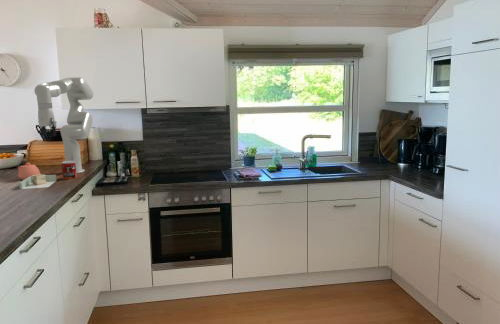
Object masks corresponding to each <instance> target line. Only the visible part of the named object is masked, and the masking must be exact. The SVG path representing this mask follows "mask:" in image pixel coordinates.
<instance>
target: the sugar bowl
mask: <svg viewBox="0 0 500 324" xmlns="http://www.w3.org/2000/svg"><path fill="white" fill-rule="evenodd" d="M17 171H18V173H17V176H18V179H19V180H22V181H23V180H25V179H26V178H28V177H30V176H32V175H38V174H41V171H40V169H39V167H37V166H36V165H35V164H31V162H26V163H25V164H24V165H19V166H17Z"/></svg>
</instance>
